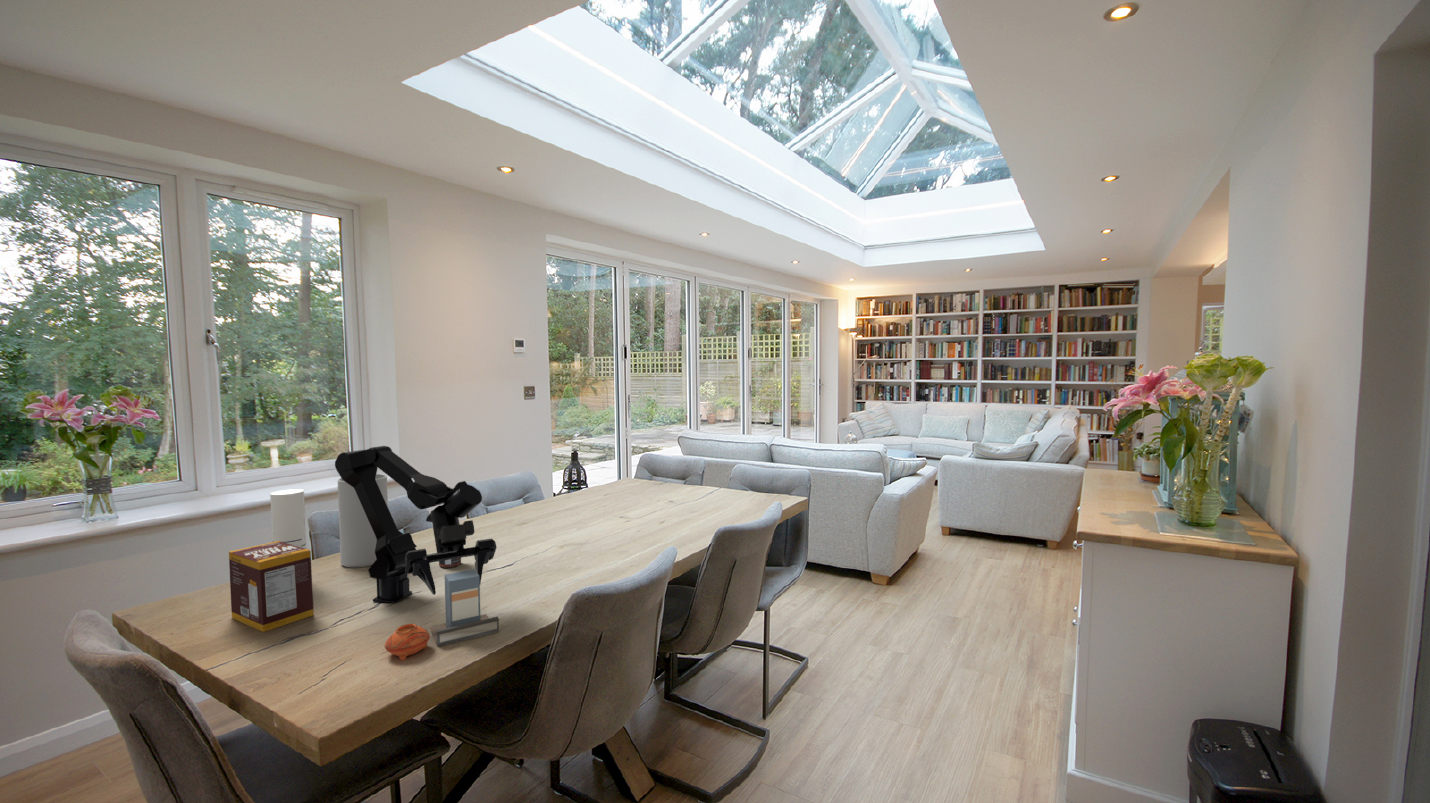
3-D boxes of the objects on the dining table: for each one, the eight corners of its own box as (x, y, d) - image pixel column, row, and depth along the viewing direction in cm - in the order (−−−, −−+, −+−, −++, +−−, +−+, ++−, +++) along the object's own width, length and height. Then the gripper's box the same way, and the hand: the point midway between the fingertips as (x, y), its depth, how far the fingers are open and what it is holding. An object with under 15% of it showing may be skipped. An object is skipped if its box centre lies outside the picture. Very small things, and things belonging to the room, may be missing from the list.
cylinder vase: (374, 568, 171) (371, 481, 170) (330, 568, 171) (327, 481, 170) (397, 554, 184) (395, 474, 182) (357, 554, 184) (354, 474, 182)
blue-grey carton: (446, 629, 129) (444, 574, 128) (475, 622, 132) (474, 569, 131) (450, 638, 124) (449, 581, 124) (481, 631, 128) (479, 575, 127)
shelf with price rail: (428, 631, 130) (428, 613, 130) (486, 618, 137) (485, 601, 136) (438, 651, 121) (437, 632, 120) (499, 636, 127) (498, 618, 127)
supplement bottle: (452, 569, 170) (451, 529, 170) (434, 567, 172) (433, 528, 171) (465, 562, 176) (464, 524, 176) (447, 561, 177) (446, 523, 177)
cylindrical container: (268, 588, 155) (263, 493, 154) (296, 579, 162) (292, 488, 161) (286, 592, 153) (282, 495, 151) (314, 583, 159) (310, 490, 158)
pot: (428, 662, 116) (418, 630, 115) (386, 675, 114) (375, 643, 113) (438, 642, 124) (428, 612, 123) (398, 654, 122) (388, 624, 121)
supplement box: (281, 602, 146) (278, 539, 146) (314, 615, 139) (311, 549, 138) (230, 617, 137) (227, 551, 137) (262, 632, 130) (259, 561, 129)
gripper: (404, 515, 130) (413, 580, 122) (493, 504, 141) (507, 563, 132) (401, 541, 137) (409, 605, 129) (486, 529, 148) (498, 587, 139)
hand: (457, 589), depth 132 cm, fingers open, 9 cm apart
